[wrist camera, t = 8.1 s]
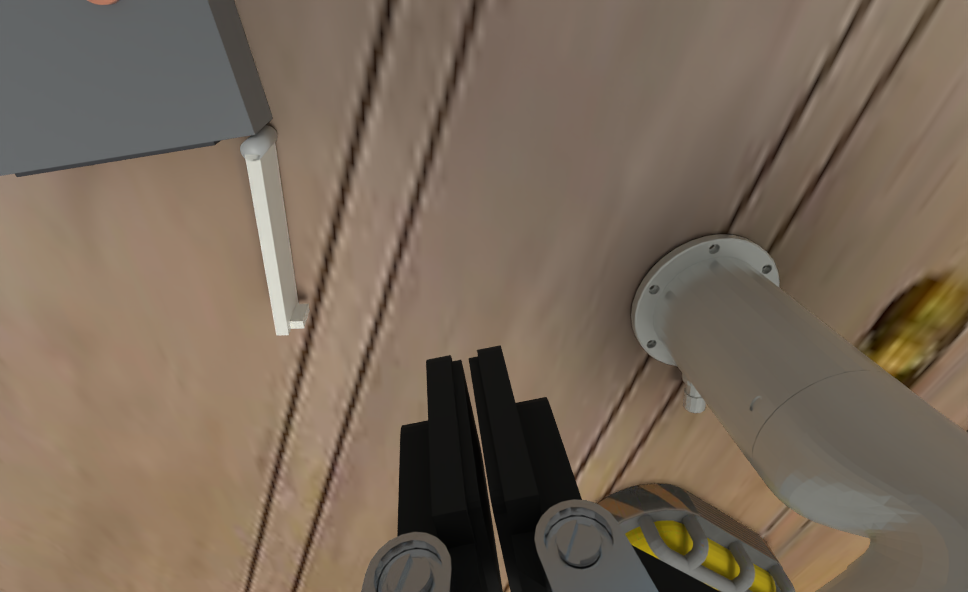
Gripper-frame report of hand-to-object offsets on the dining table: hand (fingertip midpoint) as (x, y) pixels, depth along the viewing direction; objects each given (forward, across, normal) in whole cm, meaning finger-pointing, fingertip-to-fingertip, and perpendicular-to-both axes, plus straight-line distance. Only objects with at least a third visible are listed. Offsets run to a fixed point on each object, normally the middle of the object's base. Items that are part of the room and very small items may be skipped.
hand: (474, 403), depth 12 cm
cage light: (+28, -19, +54) cm, 63 cm away
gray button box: (+26, +17, -9) cm, 33 cm away
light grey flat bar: (+26, +11, +4) cm, 29 cm away
